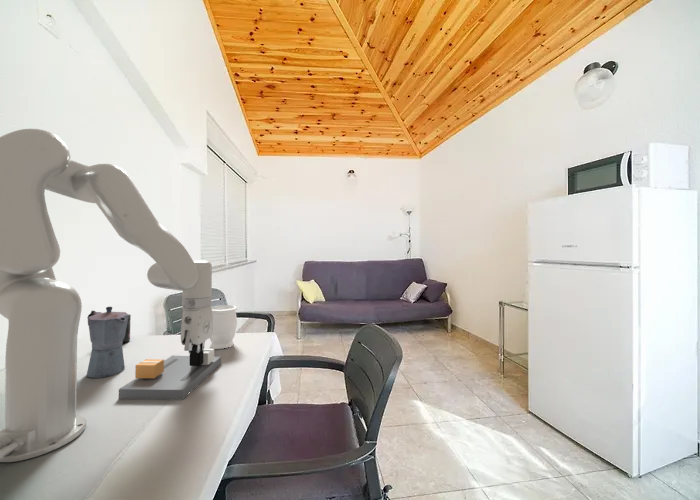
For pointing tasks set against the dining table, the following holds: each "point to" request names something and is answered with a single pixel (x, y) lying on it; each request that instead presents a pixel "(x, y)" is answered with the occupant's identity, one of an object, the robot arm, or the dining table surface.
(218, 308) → the jar
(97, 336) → the moka pot
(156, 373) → the orange fader
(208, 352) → the block
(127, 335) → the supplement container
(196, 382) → the console
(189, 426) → the dining table surface
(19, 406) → the robot arm
